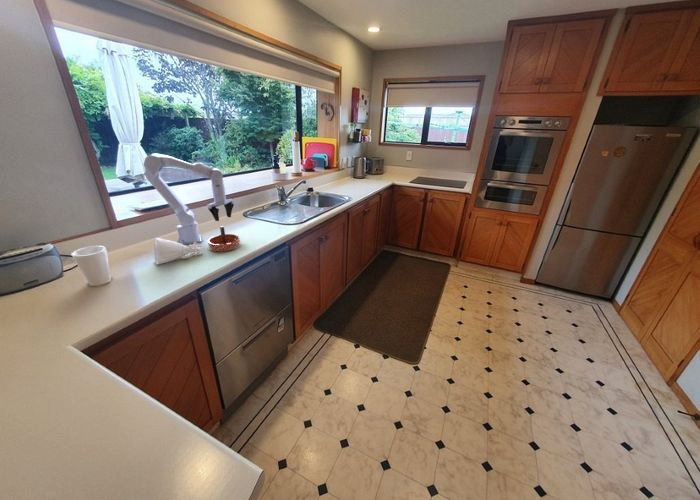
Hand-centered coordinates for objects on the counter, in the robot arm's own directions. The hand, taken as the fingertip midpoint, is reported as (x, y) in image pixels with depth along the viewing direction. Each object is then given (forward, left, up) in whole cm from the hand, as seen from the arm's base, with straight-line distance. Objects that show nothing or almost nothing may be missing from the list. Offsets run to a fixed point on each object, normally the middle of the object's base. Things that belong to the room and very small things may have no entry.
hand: (223, 218), depth 148 cm
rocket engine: (-23, -19, -11) cm, 32 cm away
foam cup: (-50, -26, -11) cm, 57 cm away
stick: (-3, -13, -10) cm, 17 cm away
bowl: (-3, -13, -10) cm, 17 cm away
